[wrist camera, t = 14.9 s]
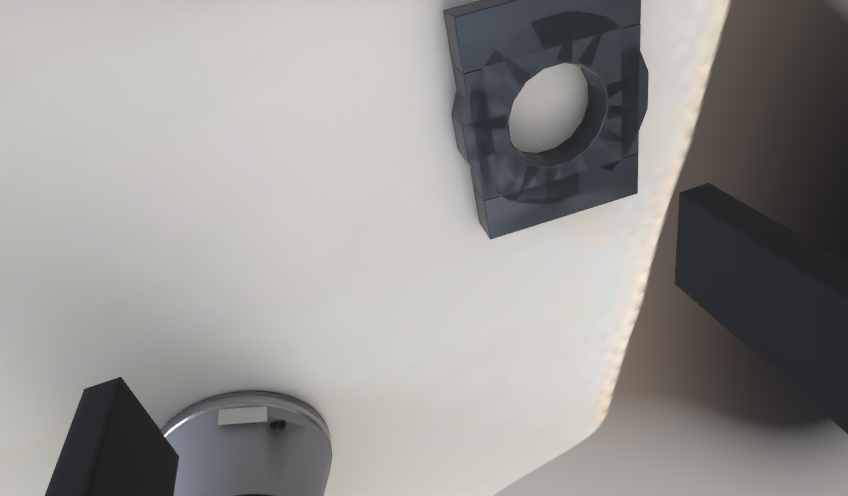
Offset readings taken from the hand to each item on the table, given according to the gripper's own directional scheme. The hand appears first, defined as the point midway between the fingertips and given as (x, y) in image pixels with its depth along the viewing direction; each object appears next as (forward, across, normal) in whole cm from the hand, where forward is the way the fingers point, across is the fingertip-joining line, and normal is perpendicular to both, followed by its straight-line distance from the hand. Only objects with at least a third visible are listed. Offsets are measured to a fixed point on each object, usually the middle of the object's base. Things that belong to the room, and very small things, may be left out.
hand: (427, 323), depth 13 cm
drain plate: (+26, -14, +6) cm, 30 cm away
